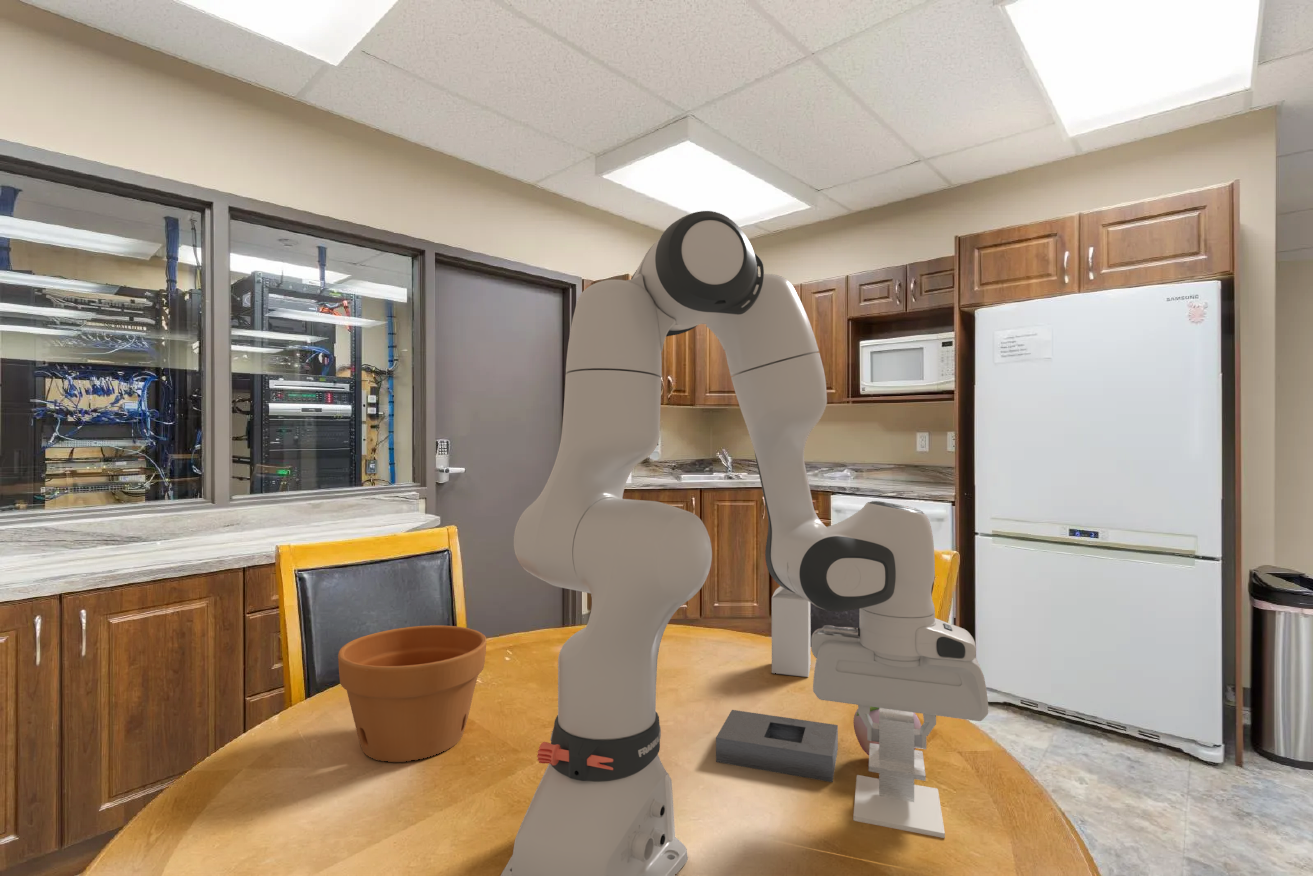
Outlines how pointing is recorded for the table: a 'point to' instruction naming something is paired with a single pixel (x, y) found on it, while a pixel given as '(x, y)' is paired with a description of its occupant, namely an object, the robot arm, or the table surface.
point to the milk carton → (790, 634)
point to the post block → (778, 745)
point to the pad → (899, 808)
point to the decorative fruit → (874, 715)
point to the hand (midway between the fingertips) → (896, 743)
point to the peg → (896, 755)
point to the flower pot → (411, 688)
